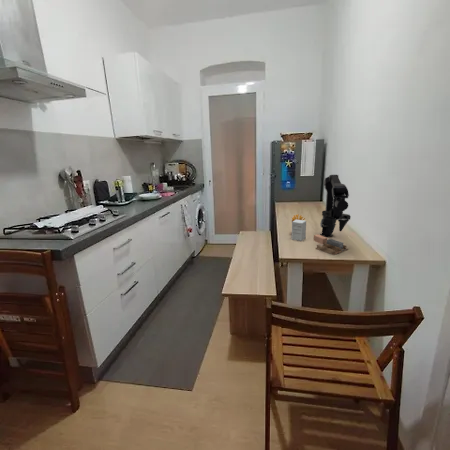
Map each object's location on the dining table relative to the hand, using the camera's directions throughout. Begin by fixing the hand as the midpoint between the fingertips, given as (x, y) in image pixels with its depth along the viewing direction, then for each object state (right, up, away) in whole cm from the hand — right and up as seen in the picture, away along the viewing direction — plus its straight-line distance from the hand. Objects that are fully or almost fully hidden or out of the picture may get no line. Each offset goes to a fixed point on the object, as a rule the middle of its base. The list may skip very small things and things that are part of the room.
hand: (335, 232), depth 155 cm
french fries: (-14, -2, +31) cm, 35 cm away
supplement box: (-16, -5, +22) cm, 28 cm away
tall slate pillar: (0, -9, +3) cm, 10 cm away
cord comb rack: (-2, -10, +1) cm, 11 cm away
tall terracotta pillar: (-4, -7, +15) cm, 17 cm away
